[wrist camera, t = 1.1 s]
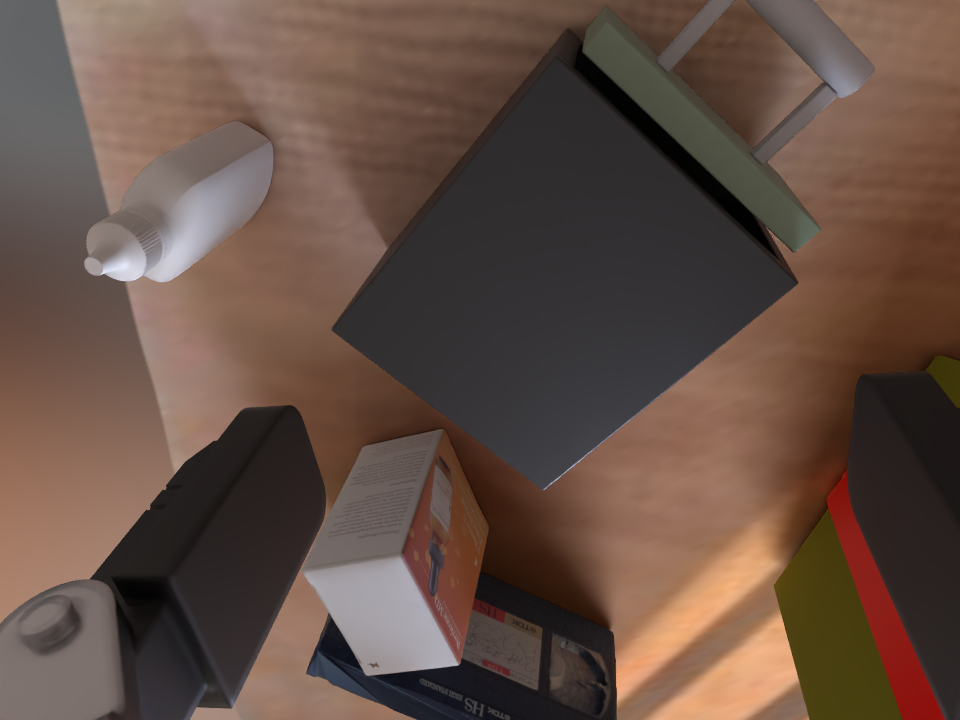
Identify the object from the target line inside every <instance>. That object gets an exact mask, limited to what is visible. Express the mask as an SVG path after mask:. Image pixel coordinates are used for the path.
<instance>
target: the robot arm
mask: <svg viewBox="0 0 960 720" xmlns="http://www.w3.org/2000/svg"><path fill="white" fill-rule="evenodd" d="M847 484H848V492H849V498H850V503H851V507H852V510H853V513H854V516H855V518H856V521H857V523H858V525H859V527H860V530H861V532H862V534H863V536H864V539H865V541H866V543H867V545H868V548H869V550H870V552H871V554H872V557H873V559H874V561H875V563H876V566H877V568H878V570H879V572H880V575H881V577H882V579H883V581H884V584H885V586H886V588H887V590H888V593H889V595H890V597H891V599H892V602H893V604H894V606H895V608H896V611H897V613H898V615H899V617H900V620H901V622H902V624H903V626H904V629H905V631H906V633H907V635H908V638H909V640H910V642H911V644H912V647H913V649H914V651H915V653H916V656H917V658H918V660H919V662H920V665H921V667H922V669H923V671H924V674H925V676H926V678H927V680H928V683H929V685H930V687H931V689H932V692H933V694H934V696H935V698H936V701H937V703H938V705H939V707H940V710H941V712H942V714H943V716H944V719H945V720H960V408H957V407H956V406H955V405H954V403H953V402H952V401H951V400H950V398H949V397H948V396H947V394H946V393H945V392H944V391H943V389H942V388H941V387H940V385H939V384H938V383H937V381H936V380H935V379H934V378H933V376H932V375H931V374H930V373H928V372H927V371H914V372H896V373H878V374H863V375H861V376H860V378H859V379H858V382H857V386H856V391H855V400H854V410H853V419H852V428H851V438H850V447H849V457H848V467H847ZM166 487H167V488H166V490H162V491H161V492H160V494H159V495H158V496H157V497H156V499H155V500H154V501H153V502H152V503H151V505H150V506H151V508H150V510H146V511H145V512H144V513H143V514H142V516H141V517H140V518H139V519H138V521H137V522H136V523H135V524H134V526H133V527H132V528H131V529H130V530H129V532H128V533H127V534H126V535H125V537H124V538H123V539H122V540H121V542H120V543H119V544H118V545H117V546H116V548H115V549H114V550H113V551H112V553H111V554H110V555H109V556H108V557H107V559H106V560H105V561H104V562H103V564H102V565H101V566H100V567H99V569H98V570H97V571H96V573H95V574H94V575H93V576H92V577H91V578H90V579H89V580H77V581H71V582H68V583H64V584H60V585H58V586H55V587H53V588H50V589H48V590H46V591H44V592H42V593H40V594H38V595H37V596H35V597H33V598H31V599H30V600H28V601H27V602H25V603H24V604H22V605H21V606H19V607H18V608H17V609H16V610H15V611H13V612H12V613H11V614H10V615H9V616H7V617H6V618H5V619H4V620H3V621H2V623H1V624H0V720H190V718H191V716H192V714H193V713H194V711H195V709H196V707H204V708H205V707H206V708H232V707H233V705H234V703H235V701H236V699H237V697H238V695H239V693H240V691H241V689H242V687H243V685H244V683H245V681H246V679H247V677H248V675H249V673H250V670H251V668H252V666H253V664H254V662H255V660H256V658H257V656H258V654H259V652H260V650H261V648H262V646H263V644H264V642H265V640H266V638H267V636H268V634H269V632H270V629H271V627H272V625H273V623H274V621H275V619H276V617H277V615H278V613H279V611H280V609H281V607H282V605H283V603H284V601H285V599H286V597H287V595H288V593H289V591H290V588H291V586H292V584H293V582H294V580H295V578H296V576H297V574H298V572H299V570H300V568H301V566H302V564H303V562H304V560H305V558H306V556H307V554H308V552H309V550H310V547H311V545H312V543H313V541H314V539H315V537H316V535H317V533H318V531H319V529H320V527H321V525H322V522H323V519H324V515H325V508H326V493H325V487H324V483H323V479H322V476H321V473H320V470H319V467H318V464H317V461H316V458H315V455H314V452H313V449H312V446H311V443H310V440H309V437H308V434H307V431H306V427H305V424H304V421H303V419H302V416H301V414H300V412H299V411H298V410H297V408H295V407H294V406H291V405H287V406H269V407H251V408H245V409H243V410H241V411H240V412H239V414H238V415H237V416H236V417H235V419H234V420H233V421H232V422H231V424H230V425H229V426H228V428H227V429H226V430H225V431H224V433H223V434H222V435H221V437H220V438H219V439H218V440H217V441H213V442H212V443H210V444H209V445H208V446H206V447H205V448H203V449H202V450H201V451H199V452H198V453H197V454H195V455H194V456H193V457H191V458H190V459H188V460H187V461H186V462H185V463H184V464H183V465H182V466H181V468H180V469H179V470H178V471H177V473H176V474H175V475H174V476H173V478H172V479H171V480H170V481H169V483H168V484H167V485H166Z"/></svg>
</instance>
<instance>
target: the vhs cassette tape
mask: <svg viewBox="0 0 960 720" xmlns="http://www.w3.org/2000/svg"><path fill="white" fill-rule="evenodd" d="M306 674H308V675H311V676H313V677H321V678H324V679H327V680H328V681H329V682H330V683H331V684H332V685H335V686H337V687H340V688H342V689H344V690H347V691H349V692H351V693H354V694H356V695H358V696H361V697H363V698H366V699H369V700H371V701H374V702H377V703H379V704H382V705H385V706H387V707H389V708H391V709H393V710H394V711H397V712H399V713H402V714H404V715H407V716H409V717H412V718H414V719H417V720H617V688H616V659H615V646H614V635H613V632H612V631H610V630H608V629H607V628H605V627H602V626H600V625H597V624H595V623H593V622H591V621H589V620H587V619H585V618H583V617H581V616H578V615H576V614H574V613H572V612H569V611H567V610H565V609H562V608H560V607H558V606H556V605H554V604H551V603H549V602H547V601H545V600H543V599H540V598H538V597H536V596H533V595H531V594H529V593H526V592H524V591H522V590H520V589H518V588H515V587H513V586H511V585H509V584H506V583H504V582H502V581H500V580H497V579H495V578H493V577H491V576H488V575H486V574H484V573H482V572H480V573H479V578H478V583H477V587H476V592H475V597H474V602H473V606H472V611H471V615H470V620H469V625H468V630H467V634H466V639H465V644H464V648H463V653H462V658H461V663H460V664H459V665H458V666H450V667H442V668H434V669H425V670H416V671H407V672H398V673H389V674H379V675H370V676H367V675H365V673H364V671H363V669H362V668H361V666H360V664H359V662H358V660H357V658H356V656H355V654H354V653H353V651H352V649H351V648H350V646H349V644H348V643H347V641H346V639H345V638H344V636H343V635H342V633H341V631H340V629H339V628H338V626H337V625H336V623H335V622H334V620H333V618H332V617H331V615H330V613H329V614H328V617H327V620H326V623H325V626H324V629H323V631H322V633H321V636H320V639H319V642H318V644H317V646H316V648H315V651H314V653H313V656H312V658H311V661H310V663H309V666H308V669H307V673H306Z"/></svg>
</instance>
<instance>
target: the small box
mask: <svg viewBox="0 0 960 720" xmlns="http://www.w3.org/2000/svg"><path fill="white" fill-rule="evenodd" d="M488 531H489V526H488V523H487V522H486V520H485V518H484V516H483V514H482V512H481V510H480V508H479V506H478V503H477V501H476V499H475V497H474V495H473V492H472V490H471V488H470V486H469V483H468V481H467V479H466V476H465V474H464V472H463V470H462V467H461V465H460V463H459V460H458V458H457V456H456V454H455V451H454V449H453V447H452V445H451V442H450V440H449V437H448V435H447V433H446V431H445V429H439V430H435V431H430V432H426V433H421V434H416V435H412V436H407V437H403V438H398V439H394V440H389V441H385V442H380V443H376V444H371V445H366V446H364V447H363V448H362V450H361V452H360V454H359V456H358V458H357V460H356V462H355V464H354V466H353V468H352V470H351V472H350V474H349V476H348V478H347V480H346V482H345V484H344V486H343V488H342V490H341V492H340V494H339V496H338V498H337V500H336V502H335V504H334V506H333V508H332V510H331V512H330V514H329V516H328V518H327V519H326V522H325V524H324V526H323V528H322V530H321V532H320V534H319V536H318V538H317V540H316V542H315V544H314V546H313V548H312V550H311V552H310V554H309V556H308V558H307V560H306V562H305V564H304V566H303V568H302V572H303V574H304V576H305V577H306V579H307V580H308V582H309V583H310V584H311V585H312V587H313V588H314V590H315V591H316V593H317V594H318V596H319V597H320V599H321V601H322V602H323V604H324V605H325V607H326V608H327V610H328V612H329V613H330V615H331V617H332V618H333V620H334V622H335V623H336V625H337V626H338V628H339V629H340V631H341V633H342V635H343V636H344V638H345V639H346V641H347V643H348V644H349V646H350V648H351V649H352V651H353V653H354V654H355V656H356V658H357V660H358V662H359V664H360V666H361V668H362V669H363V671H364V673H365V675H367V676H370V675H379V674H389V673H398V672H407V671H416V670H425V669H434V668H442V667H450V666H458V665H459V664H460V663H461V658H462V653H463V648H464V644H465V639H466V634H467V630H468V625H469V620H470V615H471V611H472V606H473V602H474V597H475V592H476V587H477V583H478V578H479V573H480V569H481V564H482V559H483V554H484V550H485V545H486V540H487V535H488Z"/></svg>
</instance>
